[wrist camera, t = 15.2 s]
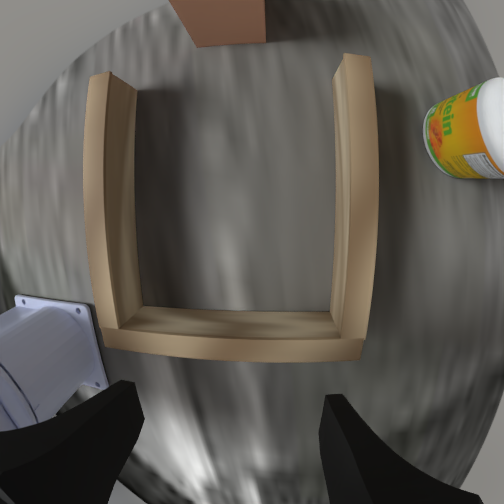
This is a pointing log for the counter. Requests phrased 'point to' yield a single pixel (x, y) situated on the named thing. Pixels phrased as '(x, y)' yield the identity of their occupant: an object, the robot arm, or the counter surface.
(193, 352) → the wooden u-shaped frame
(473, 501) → the robot arm
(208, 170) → the counter surface
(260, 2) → the block
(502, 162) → the supplement bottle
